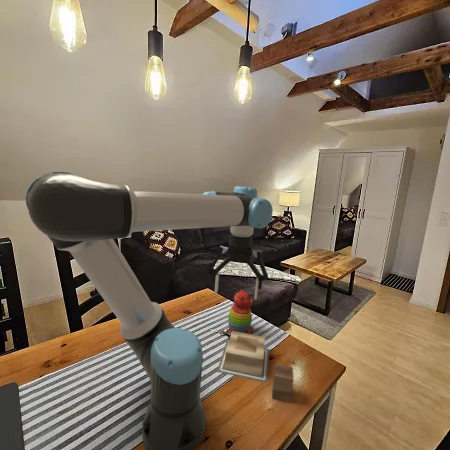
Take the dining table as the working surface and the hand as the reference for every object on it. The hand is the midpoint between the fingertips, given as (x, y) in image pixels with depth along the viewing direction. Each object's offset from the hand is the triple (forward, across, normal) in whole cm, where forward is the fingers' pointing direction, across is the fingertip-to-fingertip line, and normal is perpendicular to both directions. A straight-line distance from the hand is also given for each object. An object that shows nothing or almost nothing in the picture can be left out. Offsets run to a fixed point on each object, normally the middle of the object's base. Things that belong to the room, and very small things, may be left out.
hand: (235, 294), depth 87 cm
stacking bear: (+22, -2, -12) cm, 26 cm away
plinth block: (+22, -6, +3) cm, 22 cm away
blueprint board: (+22, -6, +3) cm, 23 cm away
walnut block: (+22, -17, +15) cm, 31 cm away
